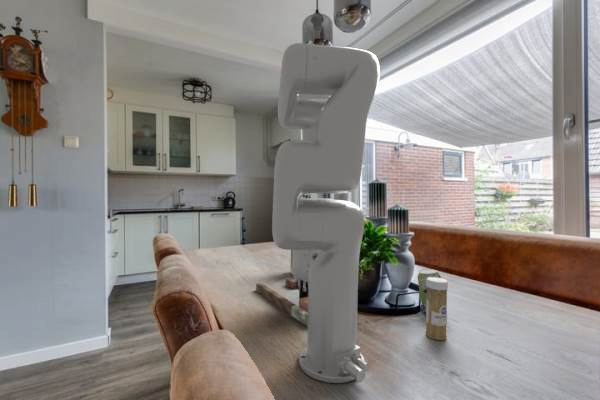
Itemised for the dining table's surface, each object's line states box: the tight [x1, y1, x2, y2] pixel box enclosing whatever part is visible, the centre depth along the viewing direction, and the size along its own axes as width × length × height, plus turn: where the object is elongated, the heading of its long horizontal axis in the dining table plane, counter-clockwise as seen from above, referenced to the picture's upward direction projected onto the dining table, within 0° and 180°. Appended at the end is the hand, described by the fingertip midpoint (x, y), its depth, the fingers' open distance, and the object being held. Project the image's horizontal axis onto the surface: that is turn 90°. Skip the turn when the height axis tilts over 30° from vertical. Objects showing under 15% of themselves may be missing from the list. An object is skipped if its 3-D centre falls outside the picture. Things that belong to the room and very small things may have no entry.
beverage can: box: [417, 269, 442, 313], centre depth 80 cm, size 6×7×12 cm
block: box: [298, 297, 308, 312], centre depth 78 cm, size 6×6×4 cm
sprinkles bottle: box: [425, 277, 449, 341], centre depth 66 cm, size 5×5×14 cm
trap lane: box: [255, 277, 308, 328], centre depth 89 cm, size 32×22×3 cm
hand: (305, 303), depth 82 cm, fingers closed
